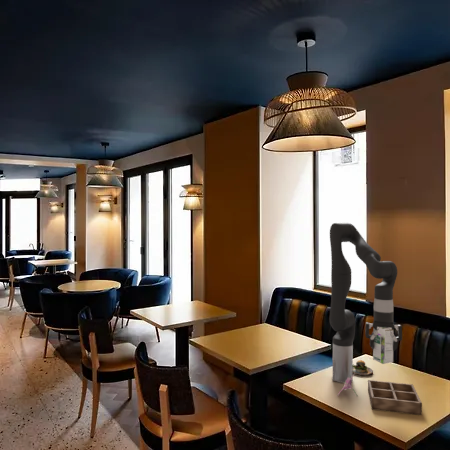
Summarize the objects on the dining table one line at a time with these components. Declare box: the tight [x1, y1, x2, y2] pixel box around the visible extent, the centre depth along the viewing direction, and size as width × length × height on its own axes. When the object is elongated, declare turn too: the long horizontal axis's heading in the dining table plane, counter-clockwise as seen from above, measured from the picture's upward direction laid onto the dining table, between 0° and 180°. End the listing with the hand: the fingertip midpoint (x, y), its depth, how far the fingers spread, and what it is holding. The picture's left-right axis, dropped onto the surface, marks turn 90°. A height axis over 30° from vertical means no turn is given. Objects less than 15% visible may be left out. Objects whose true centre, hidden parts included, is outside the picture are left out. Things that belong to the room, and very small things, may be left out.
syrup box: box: [372, 327, 394, 365], centre depth 162 cm, size 6×6×14 cm
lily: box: [336, 373, 358, 397], centre depth 172 cm, size 12×12×10 cm
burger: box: [353, 359, 374, 376], centre depth 198 cm, size 12×12×8 cm
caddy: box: [367, 379, 423, 416], centre depth 166 cm, size 18×18×5 cm
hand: (383, 349), depth 163 cm, fingers closed on syrup box, 7 cm apart
